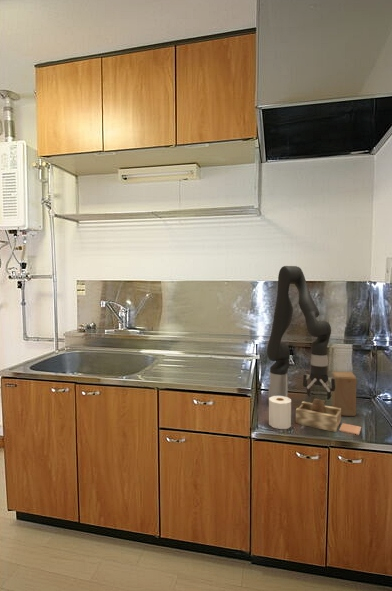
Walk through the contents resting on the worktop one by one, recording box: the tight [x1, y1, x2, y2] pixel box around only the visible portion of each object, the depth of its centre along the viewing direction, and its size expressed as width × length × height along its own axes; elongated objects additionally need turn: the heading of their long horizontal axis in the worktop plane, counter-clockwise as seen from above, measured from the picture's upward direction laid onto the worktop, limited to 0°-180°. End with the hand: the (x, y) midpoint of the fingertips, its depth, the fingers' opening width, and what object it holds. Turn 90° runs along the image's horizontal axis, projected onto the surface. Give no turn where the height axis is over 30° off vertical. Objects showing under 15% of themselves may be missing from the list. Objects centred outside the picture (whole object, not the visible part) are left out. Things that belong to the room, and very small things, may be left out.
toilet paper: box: [268, 396, 292, 430], centre depth 162 cm, size 10×10×12 cm
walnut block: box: [311, 398, 326, 413], centre depth 163 cm, size 4×5×8 cm
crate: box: [295, 401, 342, 433], centre depth 163 cm, size 18×12×7 cm, turn 58°
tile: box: [338, 422, 362, 436], centre depth 156 cm, size 8×8×1 cm
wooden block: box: [330, 370, 357, 417], centre depth 175 cm, size 10×10×20 cm
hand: (318, 397), depth 163 cm, fingers open, 8 cm apart
